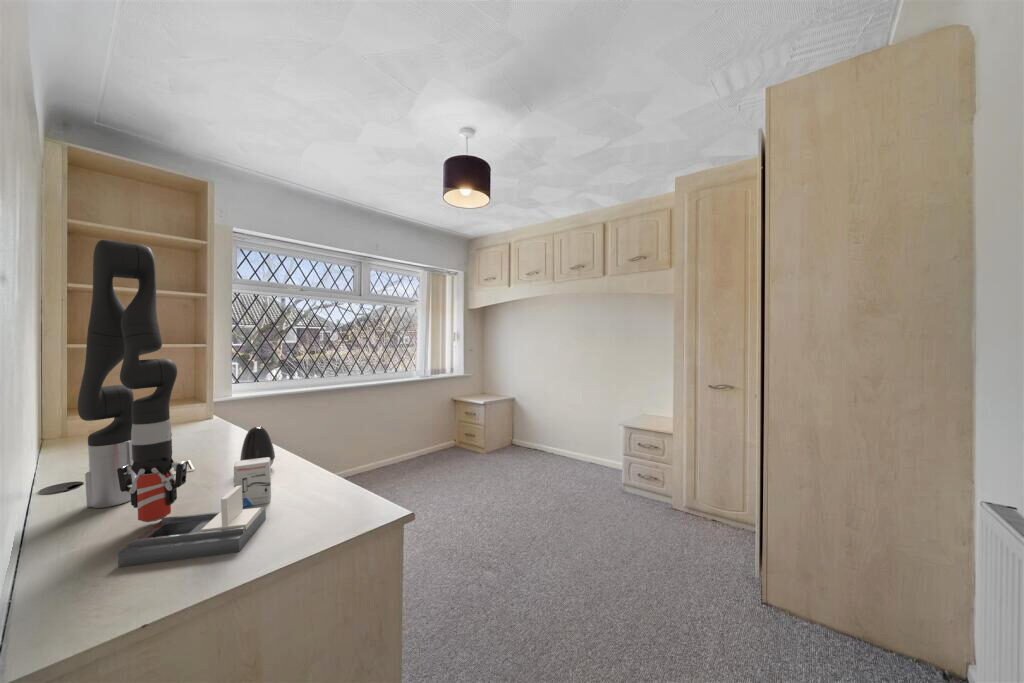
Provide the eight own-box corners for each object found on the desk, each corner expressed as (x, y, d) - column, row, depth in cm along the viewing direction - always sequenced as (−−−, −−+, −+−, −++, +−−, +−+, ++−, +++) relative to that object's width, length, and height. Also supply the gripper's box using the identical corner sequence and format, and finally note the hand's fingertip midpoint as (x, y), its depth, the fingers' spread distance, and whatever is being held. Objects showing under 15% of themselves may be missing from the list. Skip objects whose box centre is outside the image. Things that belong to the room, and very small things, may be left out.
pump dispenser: (278, 463, 148) (276, 422, 147) (271, 473, 138) (269, 428, 138) (246, 467, 145) (244, 424, 144) (236, 477, 135) (234, 431, 134)
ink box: (233, 509, 110) (232, 466, 110) (236, 502, 114) (234, 461, 114) (270, 502, 114) (269, 461, 114) (271, 496, 118) (270, 456, 118)
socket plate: (118, 567, 84) (117, 548, 83) (165, 530, 99) (164, 513, 99) (239, 551, 89) (238, 533, 88) (265, 518, 104) (265, 503, 104)
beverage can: (159, 510, 106) (157, 465, 106) (177, 514, 104) (175, 467, 104) (132, 521, 100) (130, 473, 100) (150, 525, 98) (148, 476, 98)
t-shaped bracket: (201, 534, 90) (200, 502, 90) (220, 516, 99) (219, 486, 98) (246, 529, 92) (244, 497, 92) (261, 512, 101) (260, 483, 100)
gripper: (106, 445, 96) (109, 515, 97) (176, 441, 99) (179, 508, 100) (128, 437, 103) (130, 501, 104) (193, 433, 107) (195, 496, 107)
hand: (154, 504), depth 102 cm, fingers closed on beverage can, 6 cm apart
